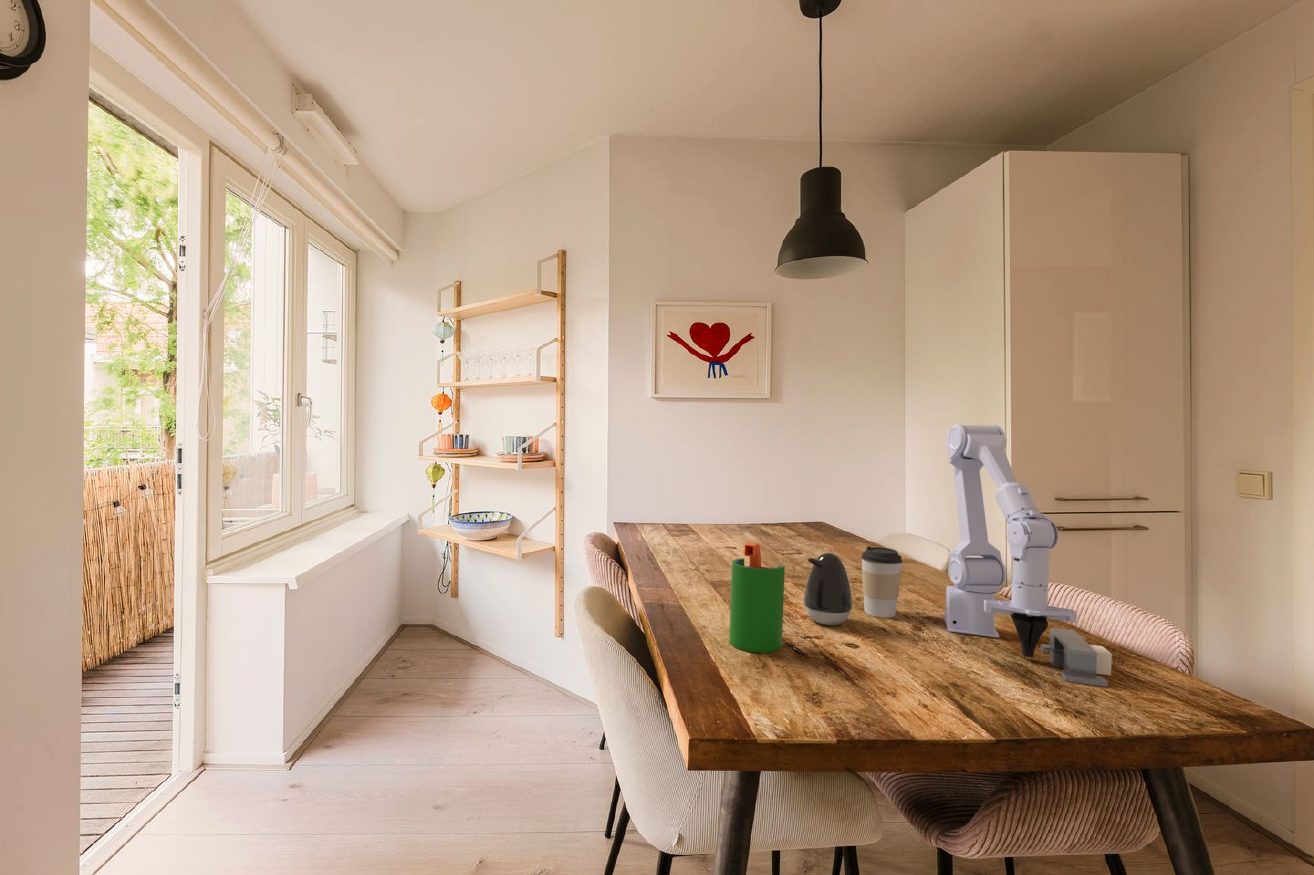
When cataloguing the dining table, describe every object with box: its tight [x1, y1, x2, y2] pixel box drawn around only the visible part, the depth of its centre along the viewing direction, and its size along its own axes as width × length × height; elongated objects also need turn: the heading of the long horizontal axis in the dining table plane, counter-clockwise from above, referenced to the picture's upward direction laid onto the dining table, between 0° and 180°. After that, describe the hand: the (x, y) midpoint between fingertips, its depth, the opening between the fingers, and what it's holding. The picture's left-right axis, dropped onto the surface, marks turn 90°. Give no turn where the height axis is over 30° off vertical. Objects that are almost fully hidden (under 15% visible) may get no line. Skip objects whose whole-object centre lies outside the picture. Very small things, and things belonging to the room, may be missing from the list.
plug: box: [1048, 644, 1113, 676], centre depth 107 cm, size 8×4×4 cm, turn 72°
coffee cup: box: [860, 545, 903, 619], centre depth 136 cm, size 9×9×15 cm
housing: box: [1040, 627, 1108, 688], centre depth 107 cm, size 6×16×5 cm, turn 160°
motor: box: [729, 542, 786, 654], centre depth 114 cm, size 10×9×20 cm
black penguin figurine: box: [803, 552, 853, 627], centre depth 129 cm, size 10×10×15 cm
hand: (1027, 655), depth 109 cm, fingers closed
